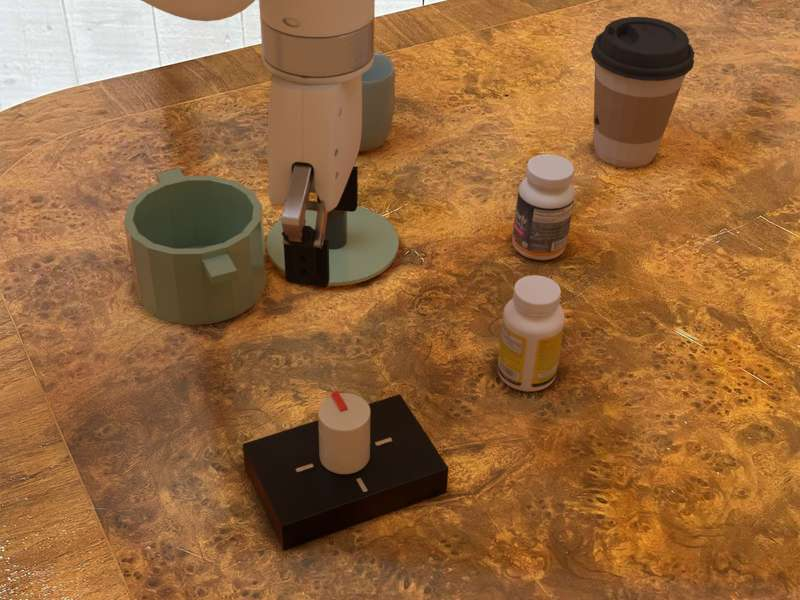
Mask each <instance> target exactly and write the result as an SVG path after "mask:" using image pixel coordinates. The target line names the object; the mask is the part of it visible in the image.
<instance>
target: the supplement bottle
mask: <svg viewBox="0 0 800 600" xmlns="http://www.w3.org/2000/svg"><path fill="white" fill-rule="evenodd" d="M561 295H562V291H561V287H560V285H559V284H558V283H557V282H556V281H555V280H553V279H552V278H549V277H547V276H544V275H539V274H537V275H536V274H535V275H534V274H531V275H526V276H523V277H521V278H519V279H518V280H517V281H516V282H515V284H514V287H513V293H512V297H511V299H510V300H508V301H507V302H506V303H505V306H504V308H503V312H502V318H501V328H500V336H499V344H498V345H499V346H498V354H497V366H496V367H497V374H498V376H499V378H500V380H501V381H502V382H503V383H504V384H506V385H507V386H509V387H510V388H512V389H514V390H517V391H521V392H538V391H541V390H545V389H546V388H548V387H549V386H551V385H552V383H554V381H555V380H556V378H557V377H556V376H557V372H558V367H559V359H560V354H561V349H562V348H561V347H562V342H563V335H564V329H565V322H566V321H565V320H566V319H565V318H566V317H565V311H564V309H563V307H562V305H560V302H561Z"/></svg>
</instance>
